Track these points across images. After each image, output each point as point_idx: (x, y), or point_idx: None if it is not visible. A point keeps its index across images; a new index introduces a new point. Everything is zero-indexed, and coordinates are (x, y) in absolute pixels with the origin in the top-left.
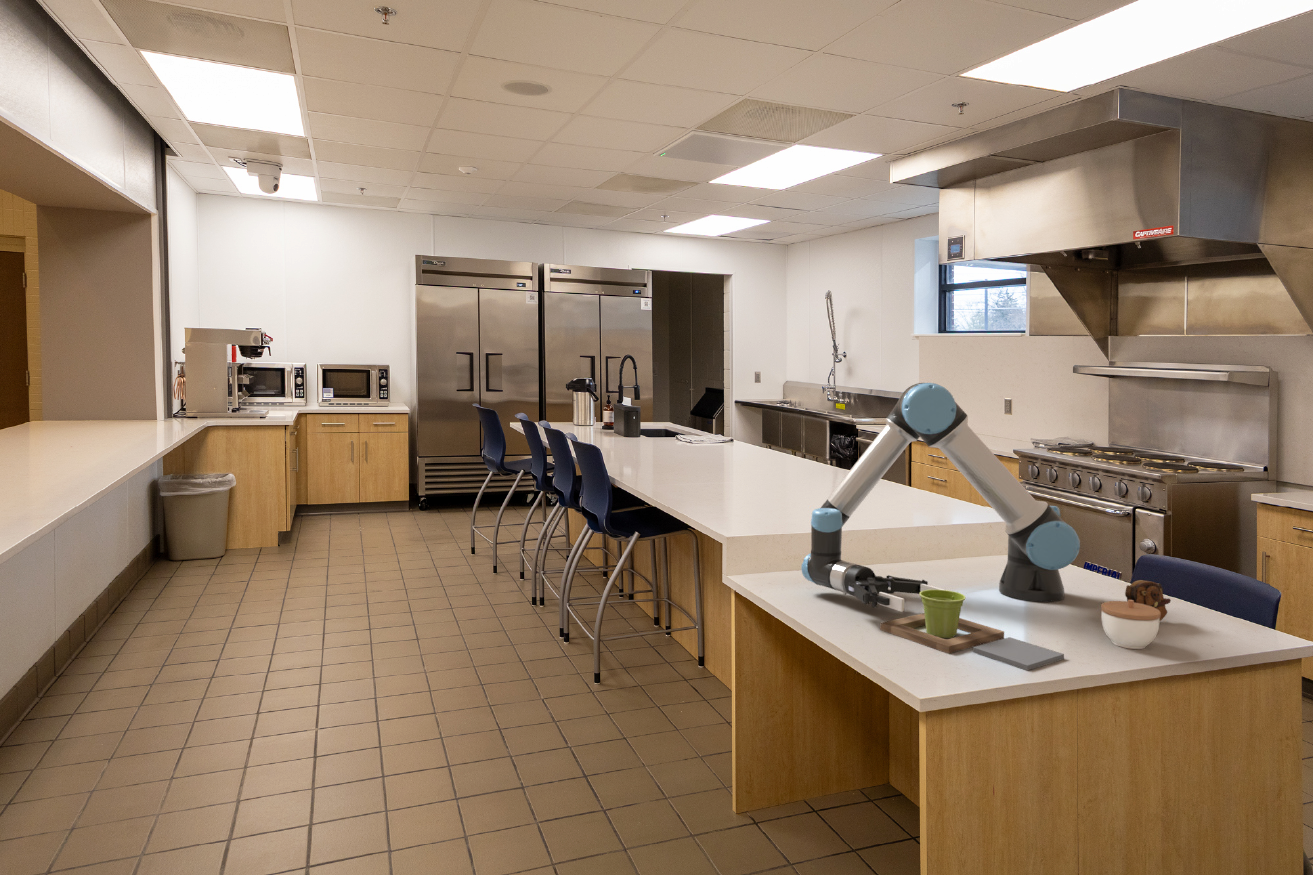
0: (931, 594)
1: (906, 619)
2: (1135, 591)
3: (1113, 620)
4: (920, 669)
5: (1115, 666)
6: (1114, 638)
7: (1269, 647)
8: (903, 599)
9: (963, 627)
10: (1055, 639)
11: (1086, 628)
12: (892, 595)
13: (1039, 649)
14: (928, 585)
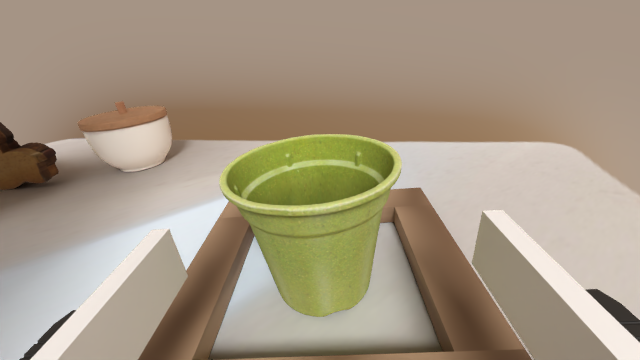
0: (276, 221)
1: None
2: (4, 126)
3: (161, 125)
4: (528, 179)
5: (250, 144)
6: (164, 152)
7: (86, 141)
8: (488, 212)
9: (238, 264)
10: (176, 190)
11: (69, 200)
12: (541, 268)
13: None
14: (58, 336)
